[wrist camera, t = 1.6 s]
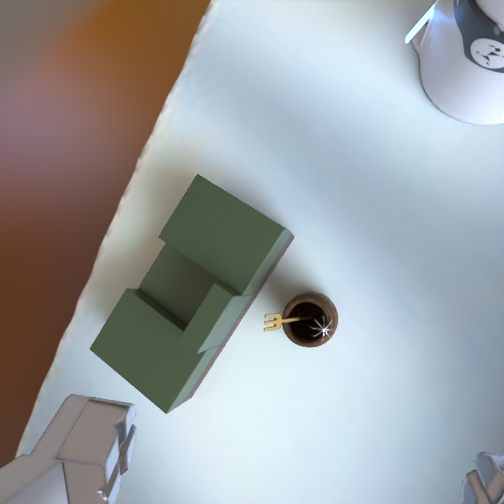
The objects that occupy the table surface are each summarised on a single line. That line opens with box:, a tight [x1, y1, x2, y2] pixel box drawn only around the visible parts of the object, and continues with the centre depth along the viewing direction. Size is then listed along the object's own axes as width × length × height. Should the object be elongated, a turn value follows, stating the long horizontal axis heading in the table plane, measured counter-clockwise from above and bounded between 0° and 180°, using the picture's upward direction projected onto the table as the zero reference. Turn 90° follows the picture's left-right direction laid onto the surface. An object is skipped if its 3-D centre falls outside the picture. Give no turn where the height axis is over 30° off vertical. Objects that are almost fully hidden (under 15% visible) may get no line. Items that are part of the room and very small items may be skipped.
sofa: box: [90, 174, 294, 414], centre depth 46 cm, size 24×12×10 cm, turn 146°
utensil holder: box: [264, 292, 338, 347], centre depth 42 cm, size 6×6×12 cm
